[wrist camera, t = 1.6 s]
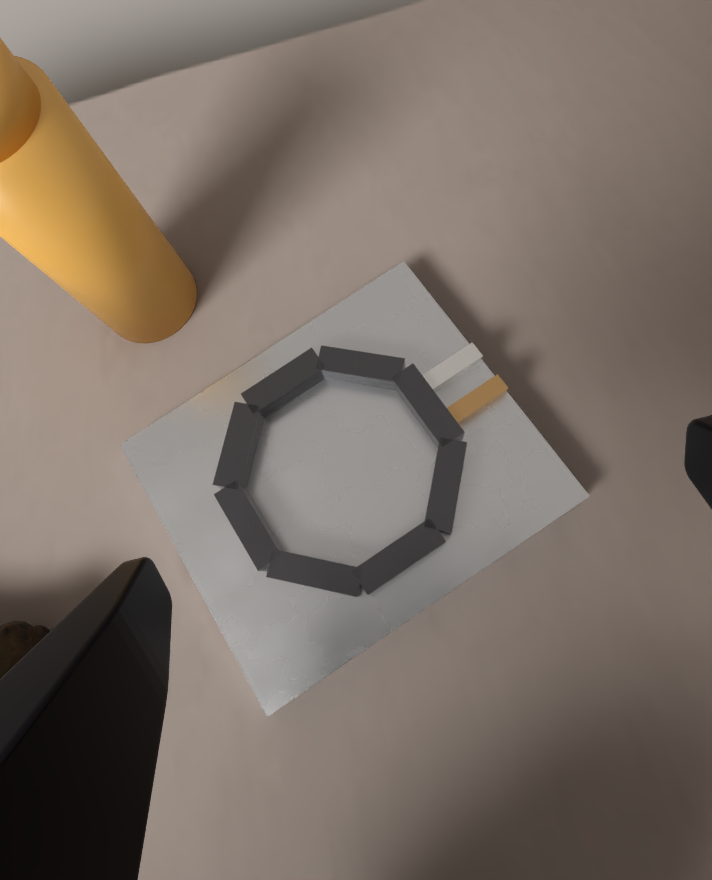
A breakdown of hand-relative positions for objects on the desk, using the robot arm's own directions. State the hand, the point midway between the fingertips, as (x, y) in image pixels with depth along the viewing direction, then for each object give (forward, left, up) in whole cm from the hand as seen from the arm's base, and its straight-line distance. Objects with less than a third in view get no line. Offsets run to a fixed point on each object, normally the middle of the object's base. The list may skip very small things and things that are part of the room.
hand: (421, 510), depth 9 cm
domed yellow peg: (-4, +16, -13) cm, 21 cm away
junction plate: (-1, +4, -13) cm, 14 cm away
